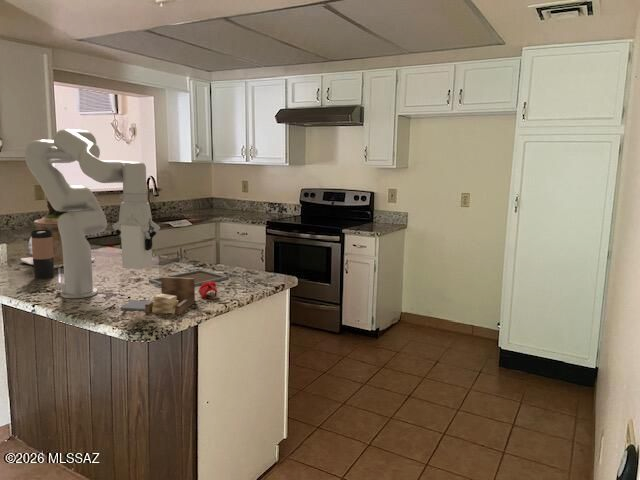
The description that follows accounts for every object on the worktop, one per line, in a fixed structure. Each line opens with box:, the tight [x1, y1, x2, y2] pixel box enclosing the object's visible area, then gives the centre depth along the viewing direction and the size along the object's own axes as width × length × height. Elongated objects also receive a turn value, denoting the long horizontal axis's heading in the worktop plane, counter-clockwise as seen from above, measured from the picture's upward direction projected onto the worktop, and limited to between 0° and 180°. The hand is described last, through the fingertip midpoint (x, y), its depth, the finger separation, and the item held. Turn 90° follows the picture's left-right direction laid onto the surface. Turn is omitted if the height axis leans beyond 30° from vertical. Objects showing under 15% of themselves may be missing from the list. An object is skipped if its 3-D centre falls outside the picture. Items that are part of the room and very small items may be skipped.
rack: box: [145, 276, 196, 316], centre depth 171 cm, size 12×15×9 cm
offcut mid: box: [153, 300, 180, 309], centre depth 166 cm, size 8×4×2 cm, turn 79°
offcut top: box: [153, 293, 177, 304], centre depth 166 cm, size 6×4×2 cm, turn 68°
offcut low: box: [151, 307, 176, 315], centre depth 167 cm, size 8×4×2 cm, turn 85°
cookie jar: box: [20, 196, 96, 269], centre depth 232 cm, size 25×25×32 cm
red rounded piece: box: [198, 282, 218, 299], centre depth 186 cm, size 8×6×6 cm
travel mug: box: [30, 229, 55, 280], centre depth 205 cm, size 8×8×20 cm
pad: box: [120, 299, 151, 311], centre depth 172 cm, size 9×9×1 cm
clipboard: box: [148, 269, 230, 289], centre depth 208 cm, size 19×2×30 cm
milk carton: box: [120, 214, 153, 271], centre depth 168 cm, size 7×7×19 cm
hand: (137, 248), depth 168 cm, fingers closed on milk carton, 7 cm apart
